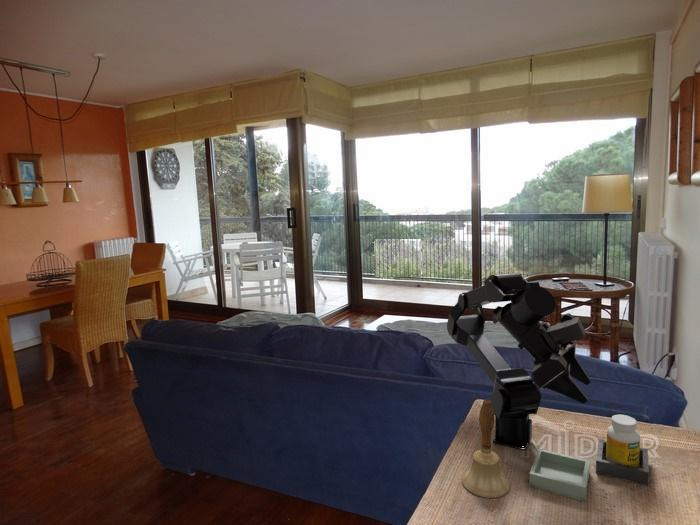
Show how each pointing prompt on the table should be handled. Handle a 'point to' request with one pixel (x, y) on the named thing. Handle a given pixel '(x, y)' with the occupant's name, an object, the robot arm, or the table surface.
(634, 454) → the supplement bottle
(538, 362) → the robot arm
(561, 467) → the tray
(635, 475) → the collar
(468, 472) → the hand bell
